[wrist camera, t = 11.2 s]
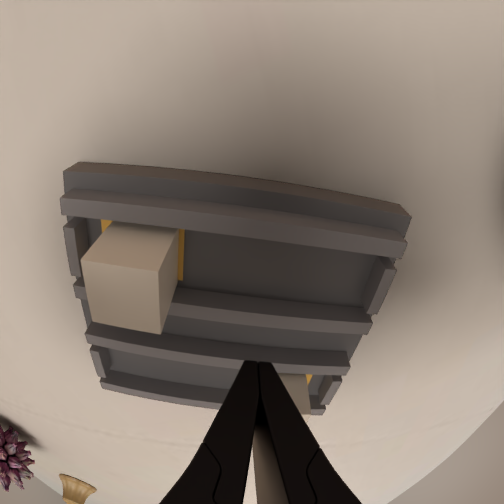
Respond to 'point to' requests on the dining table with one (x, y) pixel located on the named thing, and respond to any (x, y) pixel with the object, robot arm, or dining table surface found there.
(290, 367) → the switch bank
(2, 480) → the flower
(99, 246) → the beige rectangular block
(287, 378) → the tab
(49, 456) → the dining table surface
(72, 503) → the hand bell
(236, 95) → the dining table surface
